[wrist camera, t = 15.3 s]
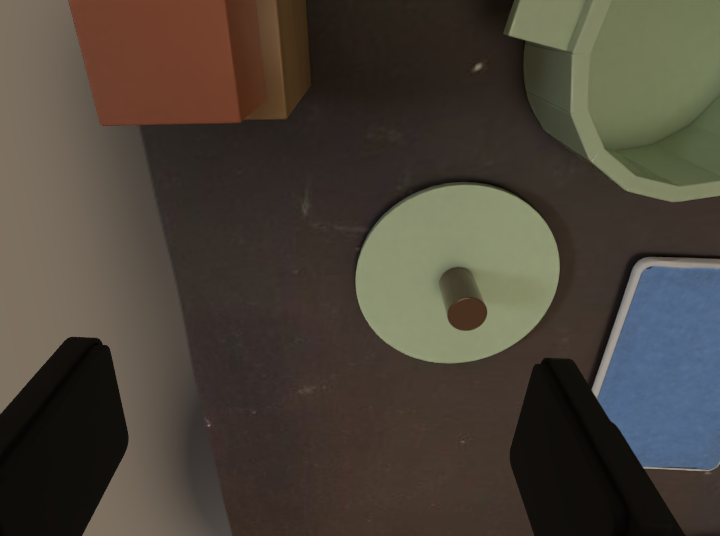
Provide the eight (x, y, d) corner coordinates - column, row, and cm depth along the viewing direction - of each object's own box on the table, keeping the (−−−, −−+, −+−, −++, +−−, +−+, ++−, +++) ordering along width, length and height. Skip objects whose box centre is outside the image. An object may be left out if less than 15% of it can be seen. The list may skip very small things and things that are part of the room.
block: (153, 103, 20) (99, 126, 16) (126, -29, 18) (56, -41, 14) (266, 100, 20) (241, 123, 16) (252, -33, 18) (219, -45, 14)
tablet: (709, 462, 43) (718, 475, 41) (563, 456, 42) (568, 469, 41) (814, 260, 34) (830, 269, 33) (629, 251, 34) (639, 260, 32)
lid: (511, 368, 38) (531, 417, 34) (337, 334, 37) (333, 380, 32) (587, 205, 32) (625, 237, 27) (382, 156, 31) (386, 182, 26)
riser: (208, 88, 29) (139, 122, 20) (190, -32, 26) (100, -54, 17) (311, 86, 29) (287, 119, 20) (303, -35, 26) (271, -59, 17)
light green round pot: (720, 189, 31) (816, 237, 25) (448, 122, 30) (471, 154, 23) (855, -39, 26) (1025, -56, 19) (528, -137, 24) (590, -194, 17)
